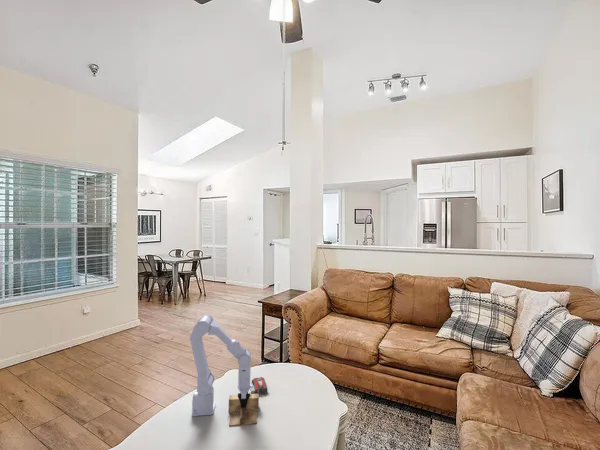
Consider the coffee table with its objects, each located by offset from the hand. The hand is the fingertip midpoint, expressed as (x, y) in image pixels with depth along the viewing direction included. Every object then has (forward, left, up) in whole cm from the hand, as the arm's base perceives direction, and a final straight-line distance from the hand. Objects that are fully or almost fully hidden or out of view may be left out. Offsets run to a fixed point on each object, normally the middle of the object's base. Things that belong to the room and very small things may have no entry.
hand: (243, 404), depth 140 cm
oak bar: (0, 0, -2) cm, 2 cm away
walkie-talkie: (+7, +13, -3) cm, 15 cm away
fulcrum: (0, -8, -2) cm, 8 cm away
